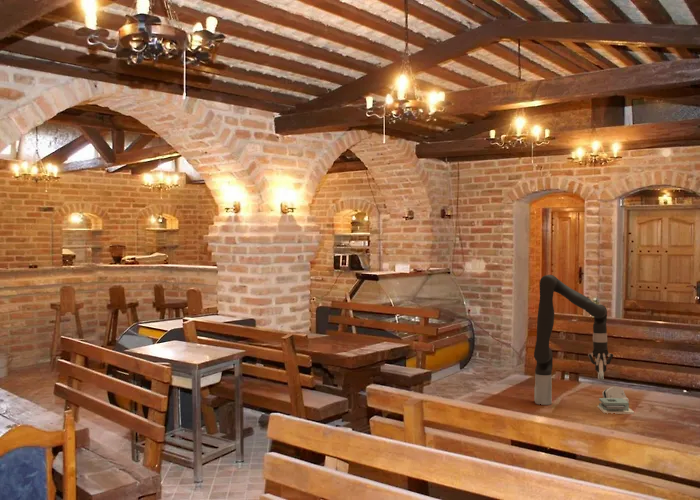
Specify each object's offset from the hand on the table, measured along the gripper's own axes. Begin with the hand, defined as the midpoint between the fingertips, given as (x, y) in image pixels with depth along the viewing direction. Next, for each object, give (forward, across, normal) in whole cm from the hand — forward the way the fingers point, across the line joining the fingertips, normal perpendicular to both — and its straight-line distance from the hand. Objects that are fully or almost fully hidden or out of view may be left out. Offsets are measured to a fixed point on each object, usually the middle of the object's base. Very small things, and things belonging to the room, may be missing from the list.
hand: (600, 371), depth 356 cm
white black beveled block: (+22, +12, +18) cm, 31 cm away
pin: (+4, 0, 0) cm, 4 cm away
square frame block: (+22, +8, 0) cm, 23 cm away
